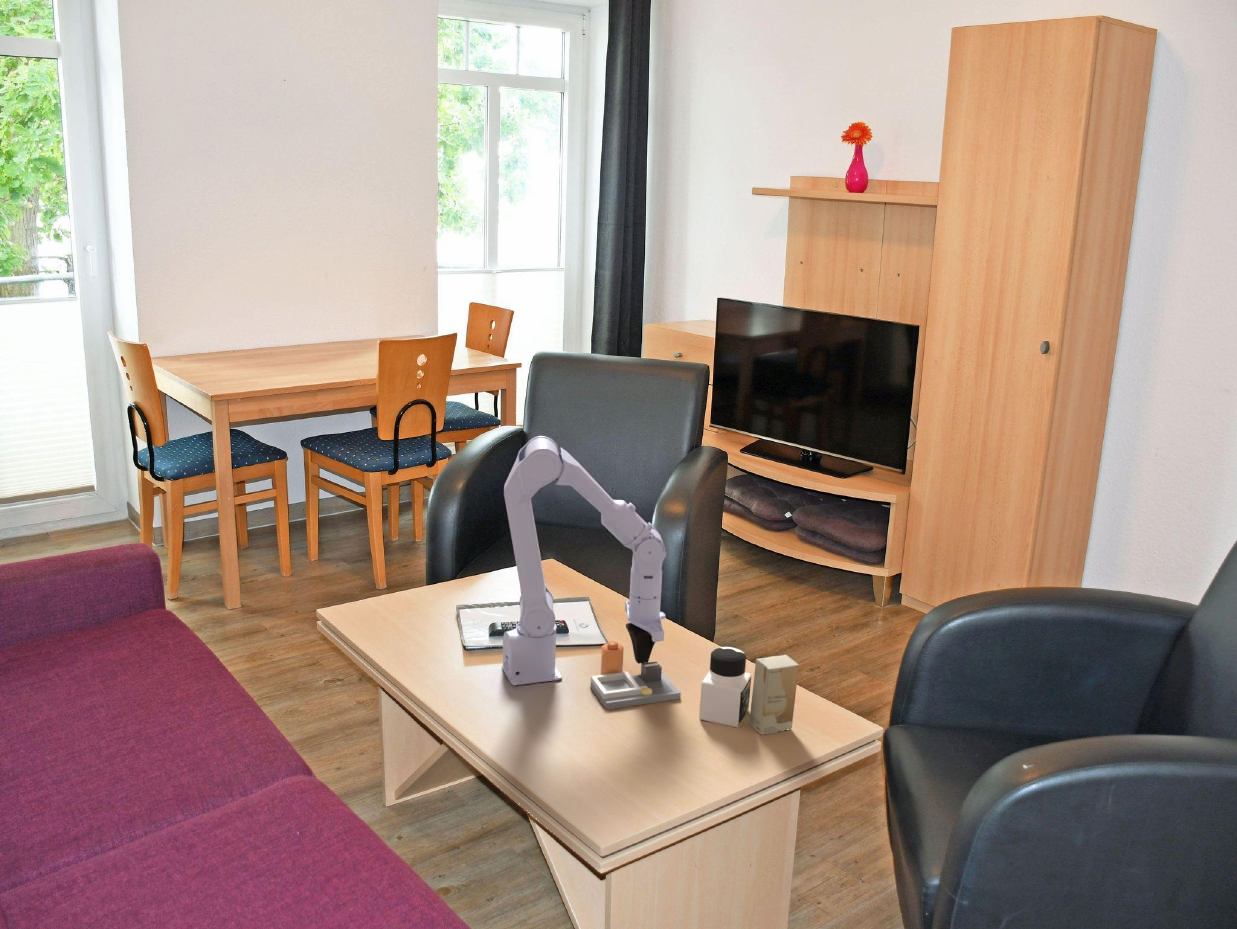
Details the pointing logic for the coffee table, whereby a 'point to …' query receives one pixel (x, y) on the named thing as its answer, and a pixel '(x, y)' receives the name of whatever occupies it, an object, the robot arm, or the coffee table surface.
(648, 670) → the block
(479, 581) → the coffee table surface
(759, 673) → the skincare box
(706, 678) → the medicine bottle
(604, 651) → the orange bottle
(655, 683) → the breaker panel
